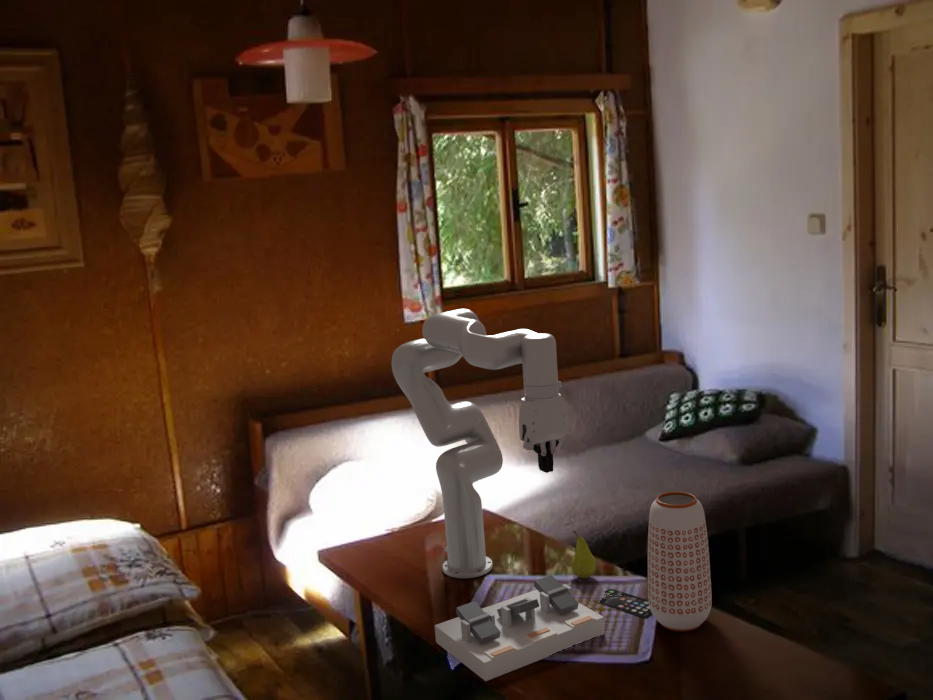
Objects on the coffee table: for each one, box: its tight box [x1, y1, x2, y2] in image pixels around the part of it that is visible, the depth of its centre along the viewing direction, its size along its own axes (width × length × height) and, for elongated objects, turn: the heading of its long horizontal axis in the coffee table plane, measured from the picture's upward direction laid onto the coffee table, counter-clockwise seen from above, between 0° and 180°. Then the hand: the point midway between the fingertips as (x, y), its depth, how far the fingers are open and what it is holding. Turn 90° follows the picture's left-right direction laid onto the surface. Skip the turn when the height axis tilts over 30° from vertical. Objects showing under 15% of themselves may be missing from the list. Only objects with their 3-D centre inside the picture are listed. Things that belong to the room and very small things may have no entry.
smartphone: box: [599, 588, 653, 619], centre depth 223 cm, size 7×1×15 cm
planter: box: [647, 491, 713, 632], centre depth 210 cm, size 13×13×28 cm
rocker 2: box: [497, 599, 539, 617], centre depth 210 cm, size 10×5×2 cm, turn 30°
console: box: [434, 583, 606, 682], centre depth 210 cm, size 20×30×8 cm, turn 121°
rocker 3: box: [533, 574, 580, 615], centre depth 215 cm, size 10×5×2 cm, turn 32°
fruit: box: [571, 530, 597, 579], centre depth 237 cm, size 6×6×12 cm
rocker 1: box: [455, 600, 501, 644], centre depth 205 cm, size 10×5×2 cm, turn 32°
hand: (546, 470), depth 219 cm, fingers closed
